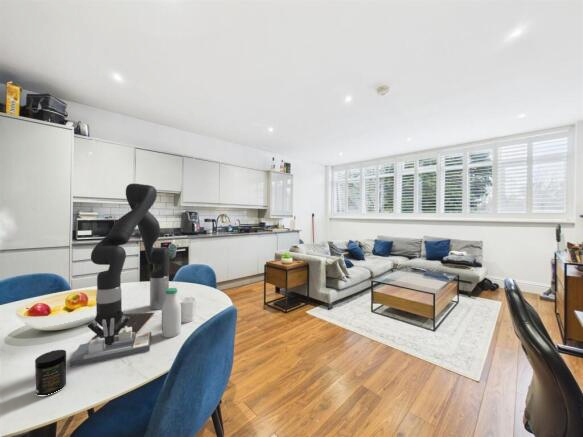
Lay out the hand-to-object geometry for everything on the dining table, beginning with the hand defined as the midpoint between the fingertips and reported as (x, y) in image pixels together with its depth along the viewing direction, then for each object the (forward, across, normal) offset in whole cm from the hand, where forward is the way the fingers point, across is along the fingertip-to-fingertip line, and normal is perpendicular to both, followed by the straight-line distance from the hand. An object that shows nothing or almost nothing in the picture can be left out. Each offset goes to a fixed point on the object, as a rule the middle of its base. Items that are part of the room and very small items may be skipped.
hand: (109, 344), depth 92 cm
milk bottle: (+4, -21, -8) cm, 23 cm away
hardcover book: (+5, -2, -23) cm, 24 cm away
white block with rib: (+2, +4, 0) cm, 4 cm away
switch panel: (+4, -1, -3) cm, 5 cm away
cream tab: (+2, -4, -6) cm, 8 cm away
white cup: (+4, -28, -20) cm, 35 cm away
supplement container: (+4, +12, +14) cm, 19 cm away
